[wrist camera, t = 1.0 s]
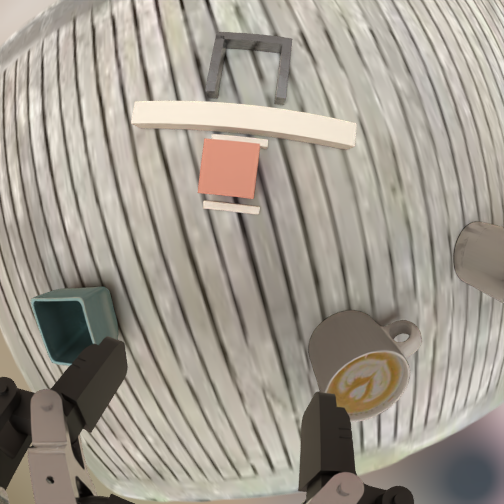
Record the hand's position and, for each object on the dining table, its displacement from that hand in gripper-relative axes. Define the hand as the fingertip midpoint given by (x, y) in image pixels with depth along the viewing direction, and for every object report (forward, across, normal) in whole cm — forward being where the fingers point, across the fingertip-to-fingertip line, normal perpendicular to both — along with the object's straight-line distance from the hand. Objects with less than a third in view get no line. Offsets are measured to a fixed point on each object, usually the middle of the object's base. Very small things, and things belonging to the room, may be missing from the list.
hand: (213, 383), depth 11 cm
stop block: (+24, +4, -4) cm, 25 cm away
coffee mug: (+22, -15, +13) cm, 30 cm away
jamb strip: (+24, +4, -6) cm, 25 cm away
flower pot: (+19, +20, +15) cm, 31 cm away
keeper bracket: (+26, +5, -17) cm, 31 cm away
